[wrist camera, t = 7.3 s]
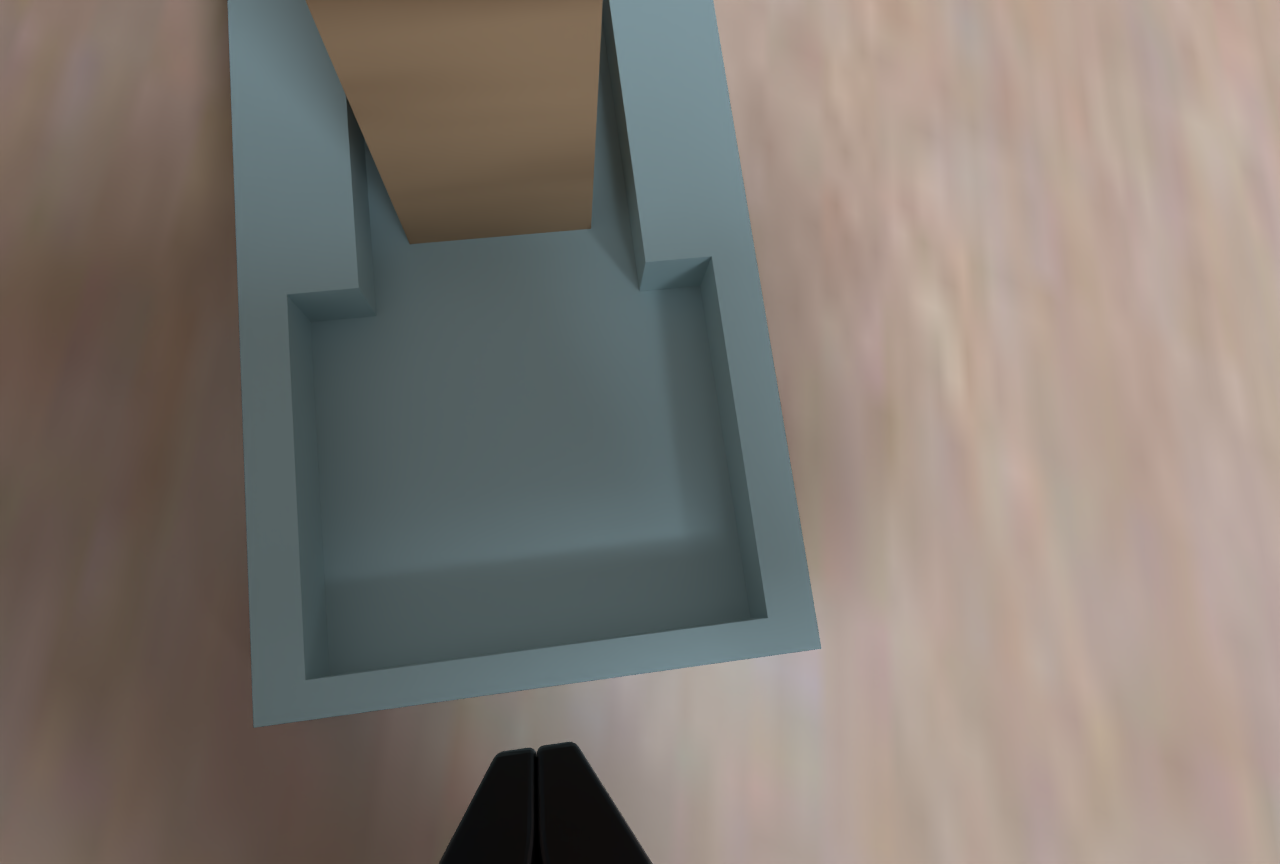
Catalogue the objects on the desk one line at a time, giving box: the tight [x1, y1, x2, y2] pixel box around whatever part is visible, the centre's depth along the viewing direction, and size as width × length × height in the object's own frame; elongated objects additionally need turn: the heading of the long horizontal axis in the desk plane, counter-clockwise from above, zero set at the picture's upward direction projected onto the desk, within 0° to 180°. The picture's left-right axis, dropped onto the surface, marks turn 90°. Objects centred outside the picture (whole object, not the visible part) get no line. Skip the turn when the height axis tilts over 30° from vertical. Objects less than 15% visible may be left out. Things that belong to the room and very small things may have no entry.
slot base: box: [228, 0, 821, 728], centre depth 16 cm, size 21×9×4 cm, turn 7°
